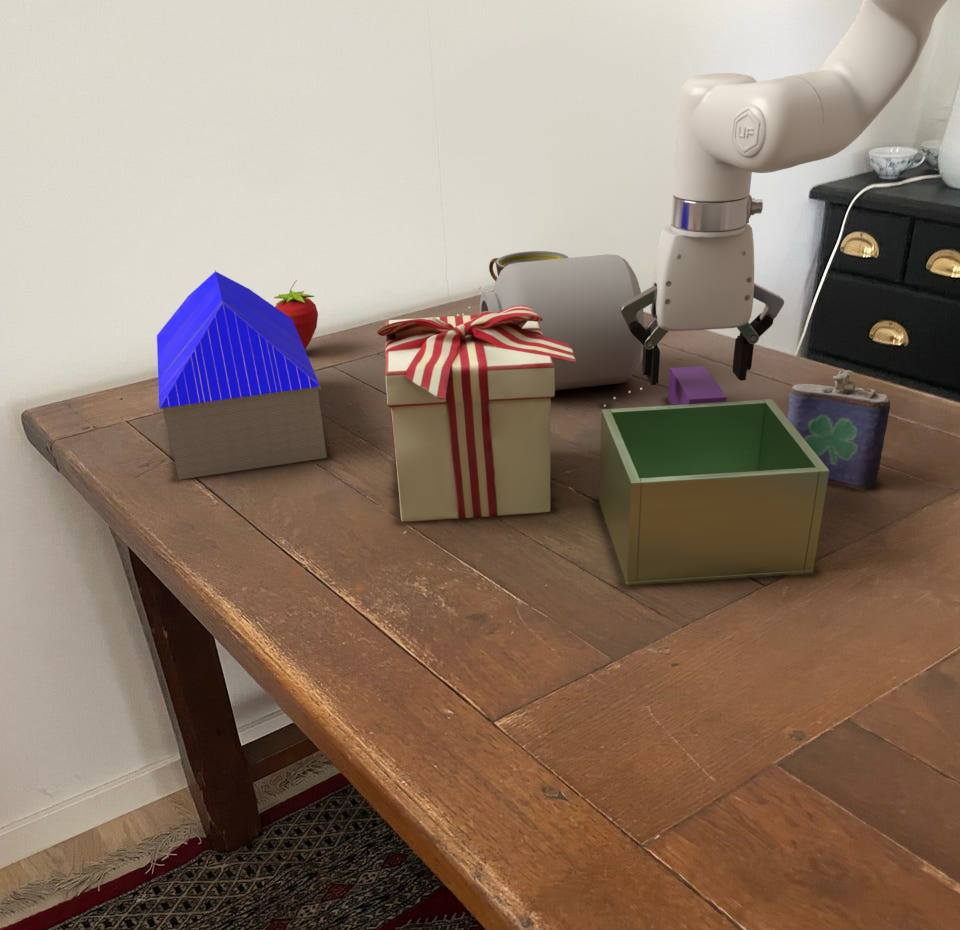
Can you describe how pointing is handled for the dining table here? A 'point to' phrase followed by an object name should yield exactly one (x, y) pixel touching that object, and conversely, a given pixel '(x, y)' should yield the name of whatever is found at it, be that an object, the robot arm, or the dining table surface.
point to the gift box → (471, 413)
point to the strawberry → (300, 313)
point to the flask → (842, 428)
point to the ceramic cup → (522, 259)
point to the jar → (577, 313)
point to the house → (236, 384)
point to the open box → (709, 492)
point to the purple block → (693, 386)
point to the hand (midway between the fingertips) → (695, 378)
